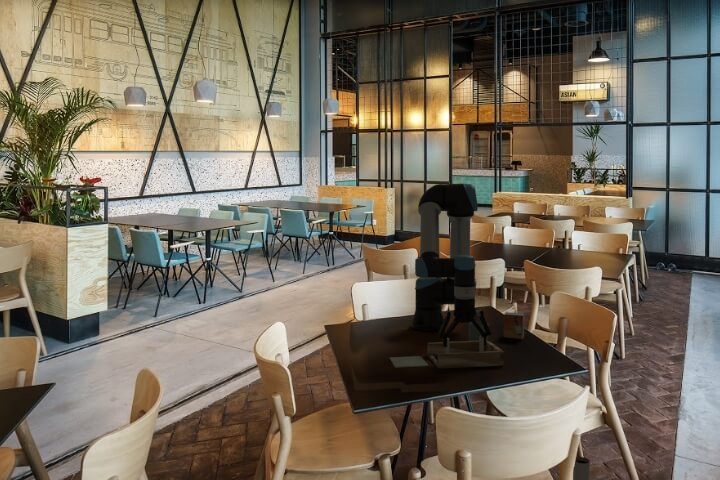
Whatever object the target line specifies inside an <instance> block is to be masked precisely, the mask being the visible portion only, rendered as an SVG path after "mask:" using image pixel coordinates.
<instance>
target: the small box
mask: <svg viewBox="0 0 720 480" xmlns="http://www.w3.org/2000/svg"><path fill="white" fill-rule="evenodd" d="M503 317H504V318H503V338H506V339H507V338H508V339H515V340H516V339H519V340H523V339H524V337H525V317H526V316H525V312H523V313H522V312H509V311H505V313H504V314H503Z"/></svg>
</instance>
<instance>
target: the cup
mask: <svg viewBox="0 0 720 480" xmlns="http://www.w3.org/2000/svg"><path fill="white" fill-rule="evenodd" d="M475 321H476V322H477V323H478V325H479V326H480V327H481V329H482V330H483V331H484V332H485V329H484V327H483V325H482V323H481V320H475ZM486 323H487V325H488V327H489V323H488V322H487V321H486ZM489 328H490V327H489ZM479 336H482V335H481V334H480V332H479V331H478V330H477V329H476V327H475V326H474V325H473V324H472V322H469V323H468V341H479ZM486 340H488V341H489V335H488V336H487V338H486Z"/></svg>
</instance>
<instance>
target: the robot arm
mask: <svg viewBox="0 0 720 480" xmlns="http://www.w3.org/2000/svg"><path fill="white" fill-rule="evenodd" d="M417 210H418V215H419V216H420V238H419V239H420V241H419V243H420V244H419V246H420V250H419V253H420V255H419V256H420V257H416V258H415V260H414V261H415V262H414V272H415V273H414V275H415V276H416V277H417V279H416V280H415V287H414V290H415V303H414V304H415V311H414V314H413V317H412V321H411V329H413V330H417V331H424V332H425V331H427V332H428V331H429V332H431V331H432V332H433V331H434V332H435V331H438V333H437V336H438V337H440V338H442V342H443V346H444V347H445V353H449V342H450V338H449V337H450V335H451V334H452V332H453V331H454V330H455V328H456V327H457V326H458V325H459V324H460V323H461V324H465V323H467V324H469V322H472V324H473V325H474V326H475V327H476V329H477V330H478V331H479V332H480V334H481V335H482V336H479V352H483V351H484V345H486V338H487V336H488V337H489V336H491V335H492V332H491V330H490V327H488V326H489V324H488V325H487V323H488V322H487V320H486V319H485V313H484V311H483V310H482V309H478V310H476V299H475V297H476V292H477V279H476V266H477V265H476V257H475V256H474V255H471V220H472V218H473V217H474V216H475V212H477V211H478V210H479V207H478V199H477V191H476V187H475V185H473V184H471V183H439V184H434V185H432V186H430V187H429V188H428V189H426V190H425V192H424V193H423V194H422V195H421V197H420V199H419V202H418V209H417ZM442 212H446V216H447V217H448V218H449V220H450V221H449V223H450V224H449V225H450V226H449V228H450V229H449V233H450V234H449V236H450V237H449V238H450V239H449V257H440V219H439V217H440V214H441V213H442ZM442 305H447V306H449V305H453V306H454V309H453V311H450V310H446V311H445V317H444V314H443V311H442ZM476 315H477V317H478V318H479V321H481V323H482V325H483V327H484V329H485V332H484V331H483V330H482V329H481V327H480V326H479V325H478V323H477V322H476V321H477V320H476V319H475V317H476ZM453 316H454V318H453V320H452V322H451V323H450V321H451V318H452V317H453ZM486 322H487V323H486ZM449 323H450V324H449ZM448 325H449V326H448Z"/></svg>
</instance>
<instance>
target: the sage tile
mask: <svg viewBox="0 0 720 480" xmlns="http://www.w3.org/2000/svg"><path fill="white" fill-rule="evenodd" d="M389 360H390V362H391V364H392V365H393V366H394V368H395V369H396V368H400V369H401V368H415V367H416V368H417V367H428V366H429V364H428V363H427V361H425V360H424V358H423V357H422V356H421V355H413V356H395V357H394V356H393V357H392V356H391V357H389Z"/></svg>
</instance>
